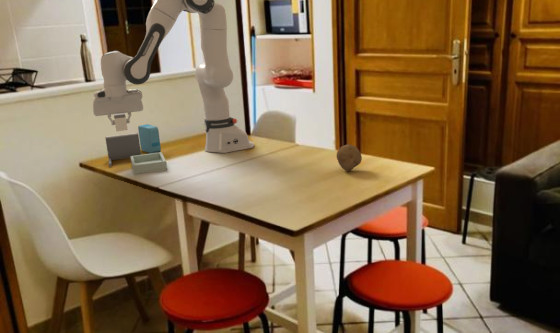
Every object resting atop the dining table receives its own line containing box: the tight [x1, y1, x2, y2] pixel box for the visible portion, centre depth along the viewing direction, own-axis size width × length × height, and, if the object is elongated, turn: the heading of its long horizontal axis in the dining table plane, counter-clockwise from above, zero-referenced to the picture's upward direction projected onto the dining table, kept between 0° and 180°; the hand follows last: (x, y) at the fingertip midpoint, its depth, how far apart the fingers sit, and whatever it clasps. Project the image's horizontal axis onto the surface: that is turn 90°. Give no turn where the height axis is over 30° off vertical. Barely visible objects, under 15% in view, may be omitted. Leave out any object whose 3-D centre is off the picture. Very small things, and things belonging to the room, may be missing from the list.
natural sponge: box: [336, 143, 363, 172], centre depth 190 cm, size 9×9×10 cm
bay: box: [105, 132, 142, 168], centre depth 225 cm, size 14×13×11 cm
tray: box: [130, 151, 168, 175], centre depth 215 cm, size 13×17×4 cm
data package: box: [137, 124, 162, 154], centre depth 241 cm, size 12×4×12 cm, turn 40°
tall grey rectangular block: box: [113, 113, 128, 132], centre depth 220 cm, size 4×9×6 cm, turn 19°
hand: (120, 123), depth 220 cm, fingers closed on tall grey rectangular block, 4 cm apart
